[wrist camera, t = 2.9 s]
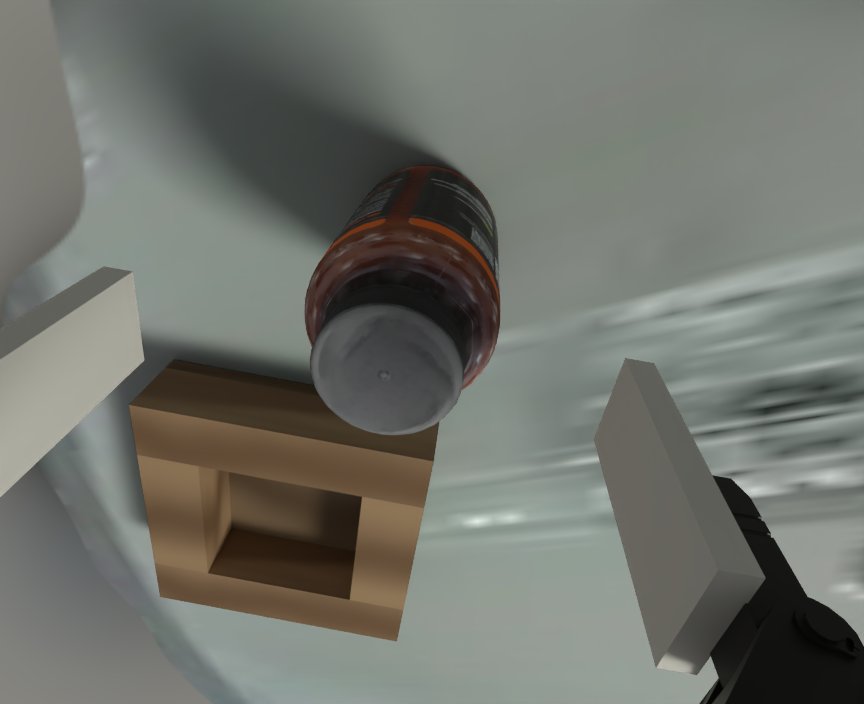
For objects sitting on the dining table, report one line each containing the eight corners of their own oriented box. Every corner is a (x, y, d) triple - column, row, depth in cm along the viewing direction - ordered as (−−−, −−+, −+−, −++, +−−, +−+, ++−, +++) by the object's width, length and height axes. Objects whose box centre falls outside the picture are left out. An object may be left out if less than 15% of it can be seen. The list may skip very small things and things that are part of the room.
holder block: (173, 359, 28) (128, 404, 25) (441, 408, 28) (433, 461, 25) (192, 541, 35) (160, 596, 32) (406, 581, 35) (396, 641, 32)
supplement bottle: (342, 265, 25) (242, 415, 15) (388, 136, 22) (301, 220, 12) (462, 316, 25) (442, 494, 16) (523, 199, 22) (545, 327, 13)
